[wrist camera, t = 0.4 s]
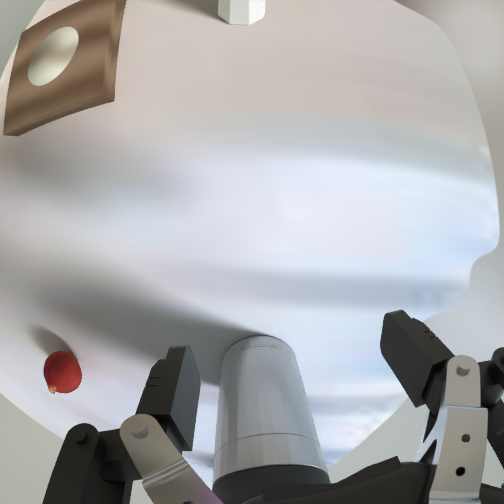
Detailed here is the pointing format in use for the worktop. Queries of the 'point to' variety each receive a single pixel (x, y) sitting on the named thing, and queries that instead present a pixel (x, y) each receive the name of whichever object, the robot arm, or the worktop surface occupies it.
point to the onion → (62, 372)
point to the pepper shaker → (241, 11)
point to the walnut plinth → (64, 65)
